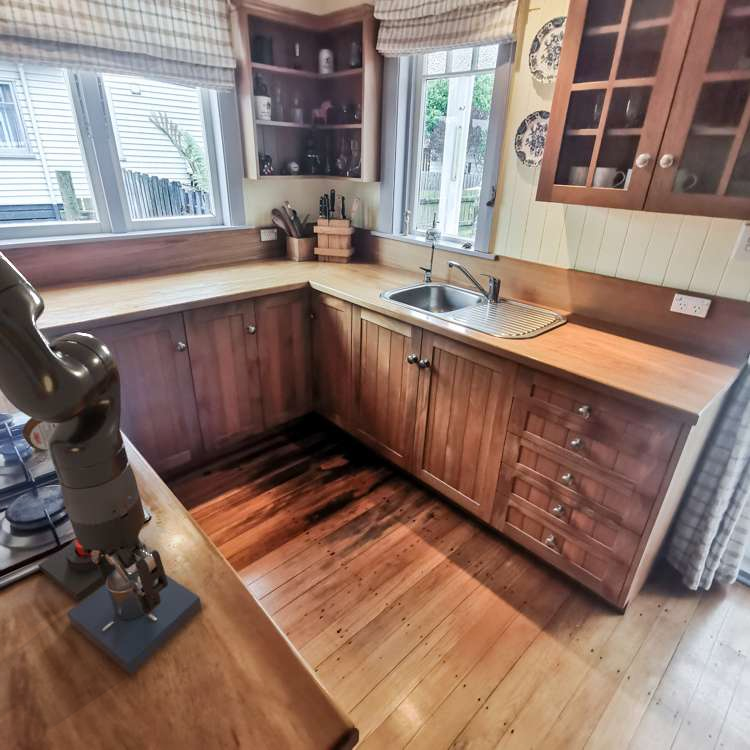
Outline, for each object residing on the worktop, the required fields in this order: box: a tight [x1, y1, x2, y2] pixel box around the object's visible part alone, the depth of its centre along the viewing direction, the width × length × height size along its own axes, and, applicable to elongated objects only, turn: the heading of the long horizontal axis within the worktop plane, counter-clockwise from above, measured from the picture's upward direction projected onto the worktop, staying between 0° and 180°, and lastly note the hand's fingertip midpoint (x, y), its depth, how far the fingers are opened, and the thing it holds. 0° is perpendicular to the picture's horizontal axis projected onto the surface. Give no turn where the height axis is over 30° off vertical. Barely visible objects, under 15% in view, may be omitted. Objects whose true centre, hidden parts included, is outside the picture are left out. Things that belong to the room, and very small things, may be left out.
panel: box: [66, 573, 202, 676], centre depth 64 cm, size 13×11×3 cm
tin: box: [22, 417, 57, 452], centre depth 100 cm, size 15×3×8 cm, turn 135°
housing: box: [38, 538, 148, 603], centre depth 72 cm, size 10×11×4 cm
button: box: [75, 538, 91, 556], centre depth 71 cm, size 4×4×2 cm
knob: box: [105, 564, 145, 620], centre depth 62 cm, size 5×5×6 cm
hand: (131, 592), depth 63 cm, fingers open, 8 cm apart
